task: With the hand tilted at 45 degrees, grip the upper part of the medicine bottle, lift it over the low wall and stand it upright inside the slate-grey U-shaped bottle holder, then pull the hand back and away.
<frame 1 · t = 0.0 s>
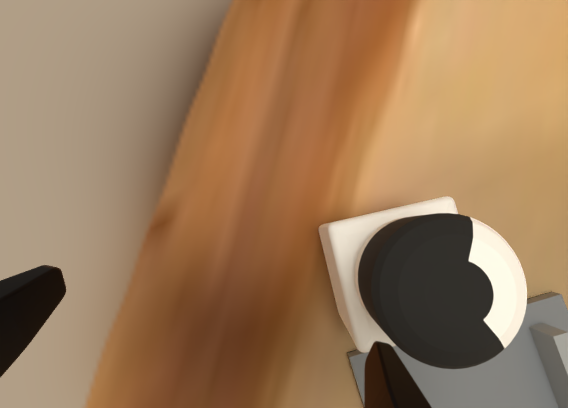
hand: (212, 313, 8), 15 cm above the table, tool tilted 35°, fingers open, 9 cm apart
medicine bottle: (372, 260, 23), on the table
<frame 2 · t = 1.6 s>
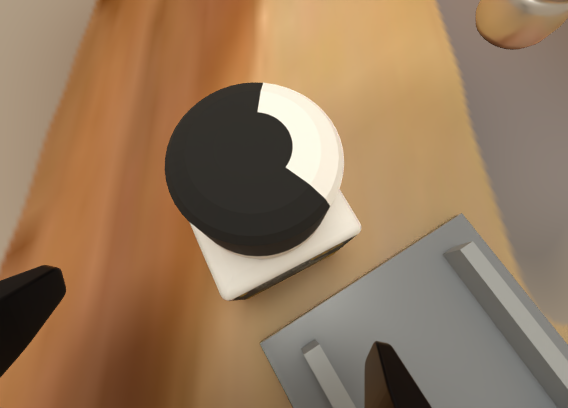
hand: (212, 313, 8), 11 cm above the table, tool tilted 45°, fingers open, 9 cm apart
bottle holder: (431, 375, 18), on the table
plastic bottle: (500, 33, 27), on the table
medicine bottle: (268, 230, 21), on the table
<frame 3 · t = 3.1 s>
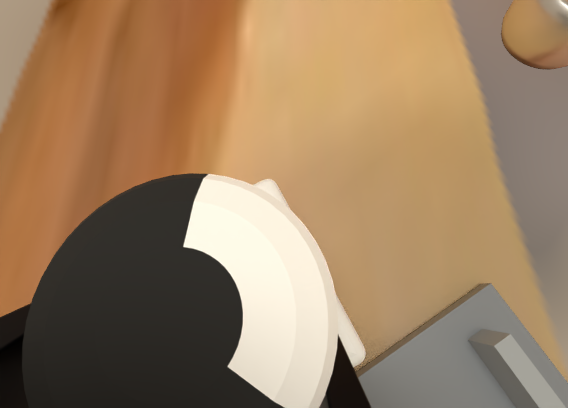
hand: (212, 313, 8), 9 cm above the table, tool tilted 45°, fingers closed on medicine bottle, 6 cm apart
plastic bottle: (530, 48, 22), on the table
medicine bottle: (247, 302, 17), on the table, touching gripper
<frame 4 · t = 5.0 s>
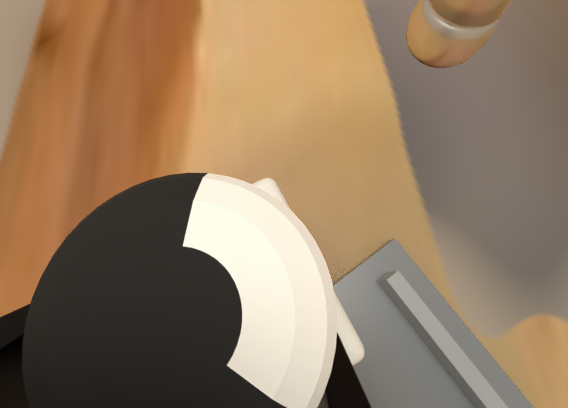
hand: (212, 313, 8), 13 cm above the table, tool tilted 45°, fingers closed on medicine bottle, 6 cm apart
bottle holder: (369, 398, 19), on the table
plastic bottle: (433, 50, 27), on the table
medicine bottle: (247, 300, 17), point 4 cm above the table, touching gripper
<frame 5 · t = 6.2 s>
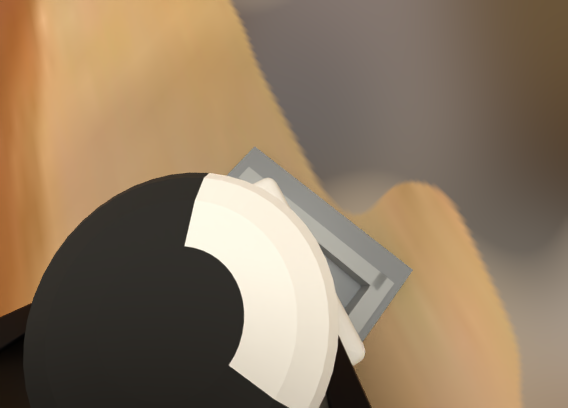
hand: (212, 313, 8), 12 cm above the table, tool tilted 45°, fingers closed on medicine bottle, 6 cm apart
bottle holder: (254, 295, 20), on the table
medicine bottle: (247, 300, 17), point 3 cm above the table, touching gripper
when the fingers open (10 cm above the table, at t = 7.0 s): medicine bottle stays where it is, resting on bottle holder.
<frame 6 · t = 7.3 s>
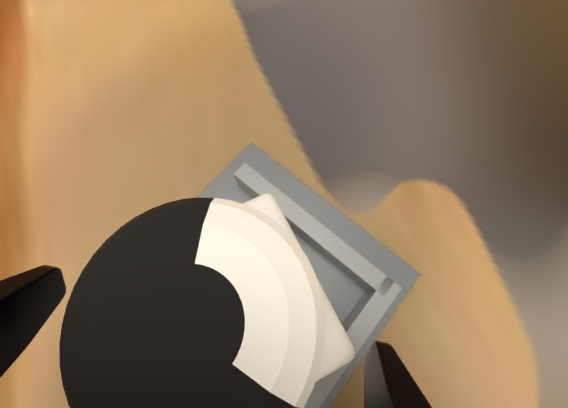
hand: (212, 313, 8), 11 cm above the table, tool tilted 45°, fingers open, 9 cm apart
bottle holder: (250, 301, 18), on the table
medicine bottle: (248, 304, 18), point 1 cm above the table, touching bottle holder
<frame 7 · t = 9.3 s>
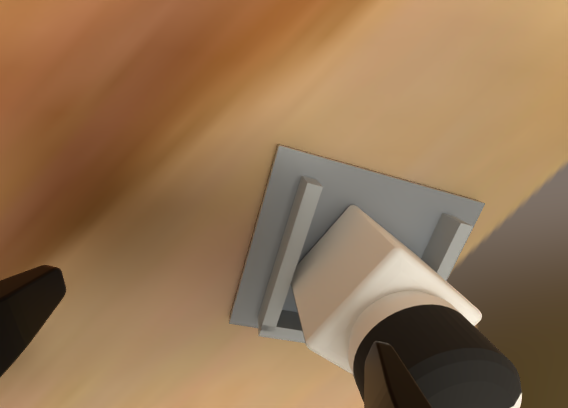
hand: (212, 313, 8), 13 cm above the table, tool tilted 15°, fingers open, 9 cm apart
bottle holder: (351, 259, 23), on the table
medicine bottle: (351, 263, 22), point 1 cm above the table, touching bottle holder
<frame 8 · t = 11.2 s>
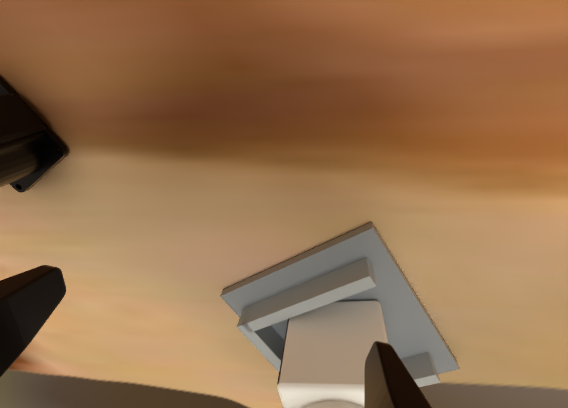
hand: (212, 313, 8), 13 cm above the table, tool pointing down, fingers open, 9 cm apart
bottle holder: (339, 324, 26), on the table
medicine bottle: (338, 329, 25), point 1 cm above the table, touching bottle holder
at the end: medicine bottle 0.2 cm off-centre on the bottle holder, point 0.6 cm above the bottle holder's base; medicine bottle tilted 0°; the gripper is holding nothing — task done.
